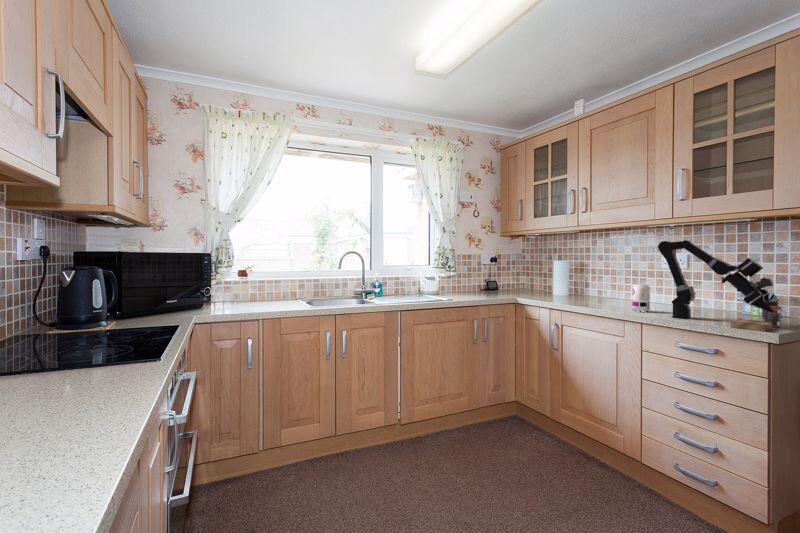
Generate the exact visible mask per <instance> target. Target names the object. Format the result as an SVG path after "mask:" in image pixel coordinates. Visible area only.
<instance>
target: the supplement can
mask: <svg viewBox="0 0 800 533" xmlns="http://www.w3.org/2000/svg"><path fill="white" fill-rule="evenodd" d="M650 299H651V287H650V285H649V284H647V283H645V284H644V283H634V284H633V285H632V298H631V300H632V303H631V310H632V311H633V310H634V311H633V312H635V311H644V312H643V313H646V312H645V311H648V312H650V309H651V308H650V307H651V306H650V305H651V304H650V303H651V302H650V301H651V300H650Z"/></svg>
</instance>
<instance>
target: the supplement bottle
mask: <svg viewBox="0 0 800 533" xmlns="http://www.w3.org/2000/svg"><path fill="white" fill-rule="evenodd" d="M765 302H766V303H767V304H768V305H769V306H770V307H771V308H772V309H773V312H768V311H766V310H763V309H761V321H764V322H772V329H773V328H774V329H779V328H781V323H782V322H781V321H782V320H781V319H782V318H781V317H782V315H781V314H782V313H781V312H782V308H781V307H780V306H779V301H777V300H771V301H765Z"/></svg>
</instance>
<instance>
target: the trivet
mask: <svg viewBox="0 0 800 533" xmlns="http://www.w3.org/2000/svg"><path fill="white" fill-rule="evenodd" d="M730 328H731V329H738V328H741V330H747V329H750V330H749V331H756V330H761V331H760V332H764V331H765V332H767V330H768V331H770V330H772V329H773V328H772V322H764V321H762V320H752V319H741V318H738V319H736V320H732V321H730Z"/></svg>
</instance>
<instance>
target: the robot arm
mask: <svg viewBox="0 0 800 533" xmlns="http://www.w3.org/2000/svg"><path fill="white" fill-rule="evenodd" d="M657 250H658V251H659V252H660V254H661V255H662V257H663V258H664V259H665V260H666V263H667V265H668V268H669V271H670V274H671V276H672V279H673V280H674V284H675V286H676V287H675V288H676V289H675V291H676V293H675V294H676V297H675V298H674V299H673V300H672V301H671V304H672V315H671V318H676V319H684V320H685V319H691V318H692V316H691V315H692V311H691V310H692V308H690V304H691V302H693V301H694V300H695V299H696V296H695V295H697V294H696V292H695V290H694V286H692V285H691V286H689V285H688V283H687V281H686V279H685V276H684V274H683V271H682V269H681V266H680V263H679V261H678V258H677V250H686V251H688V252H689V253H691V254H692V255H693V256H695V257H696V258H698V259H700V260H701V261H702V262H704V263H705V264H706V265H707V266H708V267H709V268H710V269H711V270H712V271H713V272H714V273H715V274H716V275H718V276H721V275H722V277H721V284H725V283H727V282H728V283H729V285H732V287H734V288H735V289H736V291H737V292H738V293H741V294H742V295H743V296H744V297H743V301H744V302H745V303H746V304H748V305H749V306H753V307H754V308H758V309H761V310H762V309H763V310H766V311H768V312H773V309H772V308H771V307H770V306H769V305H768V304H767V303H766V302H765V301H772V300H771V299H770V291H768V290H767V289H766V287H771V286H774V283H773V280H772V279H771V278H770V277H769V278H767V277H763V278H760V280H759V281H752V280H751V281H750V280H749V279H747V277H750V278H752V277H754V276H755V275H756V274H757V273H759V272H761V270H763V269H764V267H763V266H762V265H761V264H759V263H758V262H756V261H755V260H753V259H752V258H750V257H749V258H746V259H745V260H744V261H743V262H741V263H740V264H739V265H731V264H730V263H728V262H726V261H724V260H722V259H719V258H717V257H714V256H713V255H711V254H710V253H708V252H706V251H705V250H704V249H702V248H700V247H699V246H697V245H696V244H694V243H693V242H692V241H690V240H685V239H684V240H681V241H680V240H679V241H667V240H663V241H660V242H659V243H658V244H657ZM731 272H734V273H731ZM725 275H726V276H725ZM724 276H725V277H724Z"/></svg>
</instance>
